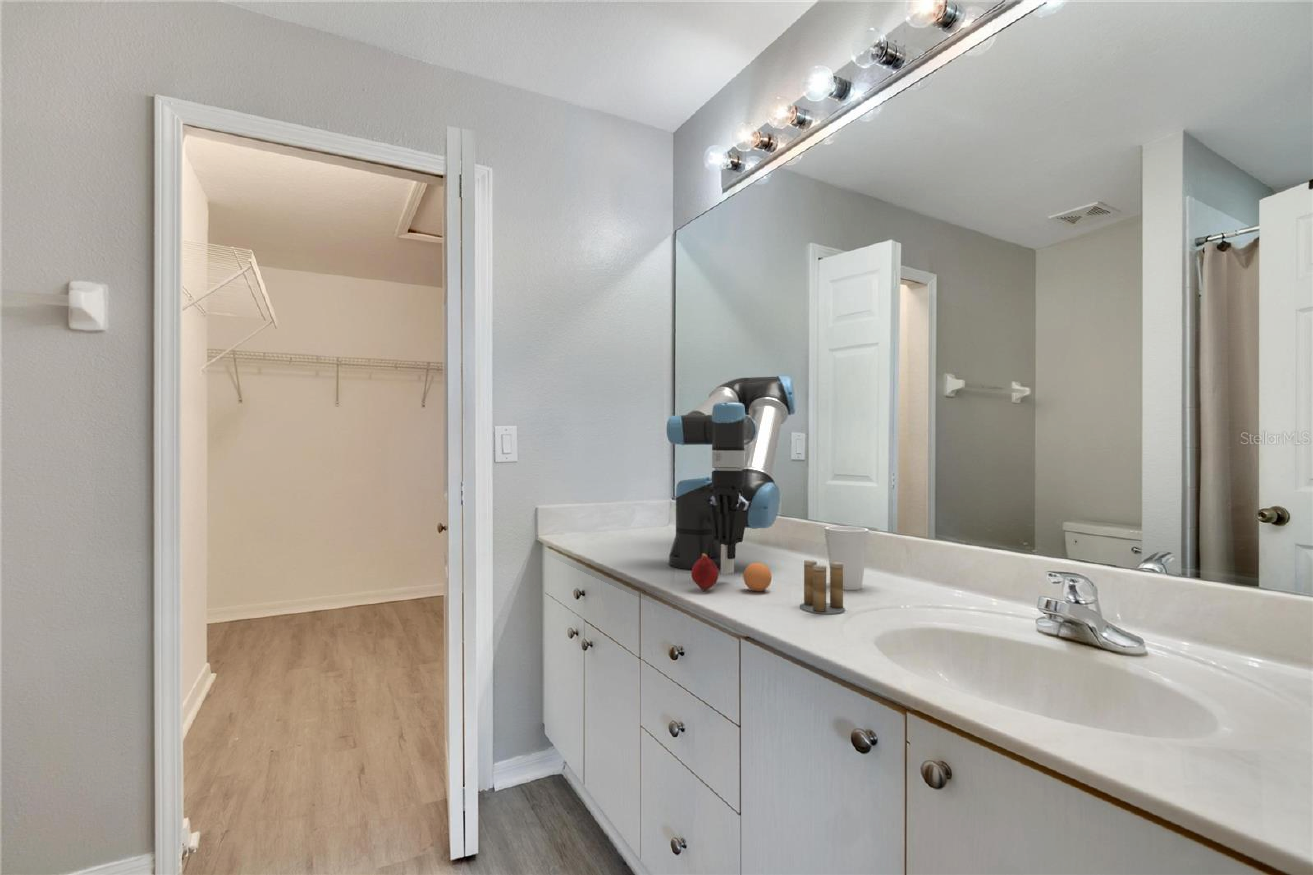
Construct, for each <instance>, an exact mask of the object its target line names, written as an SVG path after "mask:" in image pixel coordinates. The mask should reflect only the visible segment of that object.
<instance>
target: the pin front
mask: <svg viewBox="0 0 1313 875" xmlns="http://www.w3.org/2000/svg"><path fill="white" fill-rule="evenodd" d="M803 561H804V562H803V603H804V604H805V605H810V606H813V565H818V562H817V560H814V559H813V560H812V559H805V560H803Z"/></svg>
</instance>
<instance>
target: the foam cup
mask: <svg viewBox="0 0 1313 875" xmlns="http://www.w3.org/2000/svg"><path fill="white" fill-rule="evenodd" d="M824 538H825V541H826V550H827V557H828V558H827V559H828V565H829V567H830V563H831V562H839V563H843V590H847V591H856V590H861V589H862V585H863V580H864V572H865V565H866V559H867V551H868V545H869V544H868V542H869V541H870V529H869V528H865V527H861V526H860V527H859V526H849V525H848V526H847V525H831V526H826V527H824ZM860 588H861V589H860Z"/></svg>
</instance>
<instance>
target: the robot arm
mask: <svg viewBox="0 0 1313 875" xmlns="http://www.w3.org/2000/svg"><path fill="white" fill-rule="evenodd" d="M794 389H795V388H794V383H793V379H792V378H791V377H789V376H788V375H787V376H783V375H781V376H780V375H777V376H758V377H756V376H755V377H753V376H752V377H741V378H735V379H731V380H729V381H727V382H725V383H722V384H720V385H718V386H717V387H715V388H714V389H713V390H712V391H711V392H710V393H709V394H708V397H707V398H706V399H705V400H704V401H703V402H701V403H699V404H698V405H697V406H696V407H694V409H692V410H690V411H689V412H688V413H687V414H683V415H681V414H678V415H671V416H670V417H669V418H668V420H667V423H666V436H667V439H668V441H669V443H671V445H681V446H689V445H690V446H691V445H692V446H693V445H694V446H701V445H703V446H706V445H710V446H711V467H712V468H713V469H714V470H712V471H711V476H709V477H706V476H705V477H698V478H691V479H690V478H689V479H682V480H679V482H678V483H677V484H676V492H675V497H674V498H675V537H674V539H673V542H672V545H671V549H670V552H669V554H668V565H669V566H671V567H674V568H678V569H683V570H685V569H686V570H692V568H693V566H694V564H695V563H696V562H697V561H698V560H699V559H700V558H702V553H704V554H706V556H708V558H709V559H711V560H712V561H713V562H714V563H715V564H716V566H717V569H720V573H721V574H723V575H727V574H733V573H734V572H735V559H736V550H737V549H736V547H737V546H736V545H737V544H740V543H742V542H743V541H744V535H745V529H746V528H749V529H753V530H755V529H757V530H758V529H767V528H771V526H772V525H774V524H775V521H776V519H777V516H778V513H779V509H780V502H781V493H780V492H781V491H780V488H779V485H778V484H777V483H776V482H775V480H774V478H773V477H772V473H773V469H774V464H775V463H774V462H775V458H776V453H777V447H778V442H779V438H780V437H779V436H780V433H781V432H780V431H781V427H782V425H783V424H784V423H785V422H786V421H787V420H788V418H789V417H788V416H792V415H794V414H795V413H796V400H795V398H796V397H795V390H794Z"/></svg>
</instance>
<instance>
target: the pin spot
mask: <svg viewBox="0 0 1313 875" xmlns="http://www.w3.org/2000/svg"><path fill="white" fill-rule="evenodd" d="M799 608H800V609H801V610H802V611H805V612H808V613H812V614H817V615H837V614H843V613H844V612H845V611H846V608H845V607H844V606H843V608H841V609H836V608H831V607H830V602H826V612H815V611H813V606H810V605H805V604H804V602H803V603H801V604H799Z"/></svg>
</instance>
